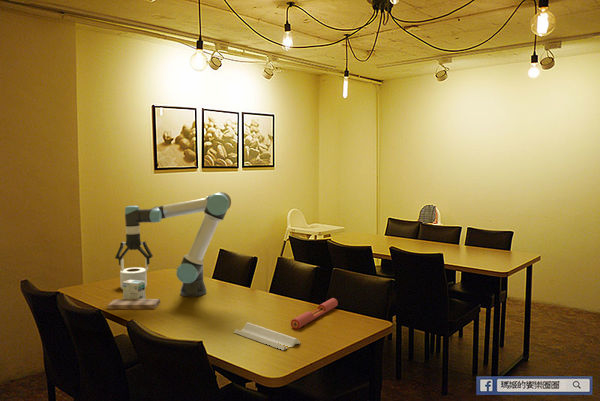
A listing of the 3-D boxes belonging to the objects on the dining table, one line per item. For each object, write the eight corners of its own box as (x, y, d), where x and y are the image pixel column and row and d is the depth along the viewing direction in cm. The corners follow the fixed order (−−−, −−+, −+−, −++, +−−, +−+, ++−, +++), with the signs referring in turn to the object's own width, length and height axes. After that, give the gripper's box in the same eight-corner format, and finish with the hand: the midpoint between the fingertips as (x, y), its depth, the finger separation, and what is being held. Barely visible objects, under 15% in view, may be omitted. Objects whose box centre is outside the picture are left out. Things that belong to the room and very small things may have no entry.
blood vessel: (299, 330, 228) (299, 320, 227) (290, 328, 230) (290, 318, 230) (337, 307, 264) (338, 298, 264) (329, 306, 267) (329, 297, 266)
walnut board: (160, 302, 269) (160, 298, 269) (155, 308, 258) (155, 304, 258) (114, 303, 268) (114, 299, 268) (107, 308, 257) (107, 304, 257)
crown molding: (233, 334, 223) (233, 326, 223) (253, 328, 232) (253, 320, 232) (283, 352, 202) (283, 343, 202) (302, 344, 211) (302, 336, 211)
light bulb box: (146, 299, 276) (145, 280, 275) (138, 302, 270) (138, 283, 269) (130, 297, 280) (129, 279, 279) (122, 300, 273) (122, 281, 272)
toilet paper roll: (141, 290, 296) (141, 272, 295) (116, 289, 296) (116, 272, 295) (150, 283, 311) (149, 267, 310) (126, 283, 311) (125, 267, 310)
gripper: (157, 231, 276) (158, 268, 278) (112, 232, 275) (114, 269, 277) (153, 233, 269) (155, 271, 270) (108, 234, 268) (110, 272, 269)
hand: (134, 270), depth 274 cm, fingers open, 13 cm apart
